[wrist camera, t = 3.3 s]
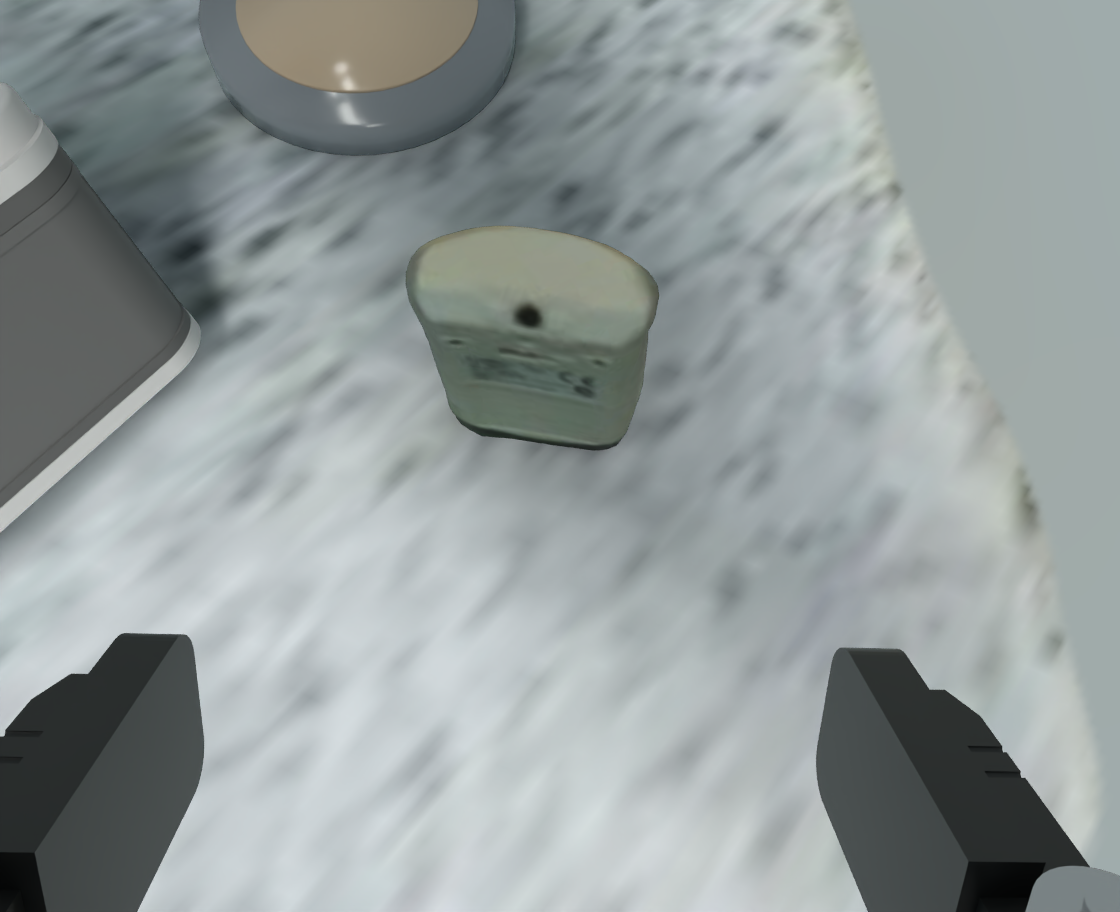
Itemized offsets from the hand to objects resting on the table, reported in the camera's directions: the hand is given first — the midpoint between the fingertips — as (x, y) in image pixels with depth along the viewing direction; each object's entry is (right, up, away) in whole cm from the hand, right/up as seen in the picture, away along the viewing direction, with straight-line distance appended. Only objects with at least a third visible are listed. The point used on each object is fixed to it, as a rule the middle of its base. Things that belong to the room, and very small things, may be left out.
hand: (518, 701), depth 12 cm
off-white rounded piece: (0, +4, +17) cm, 17 cm away
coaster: (-7, +18, +22) cm, 30 cm away
